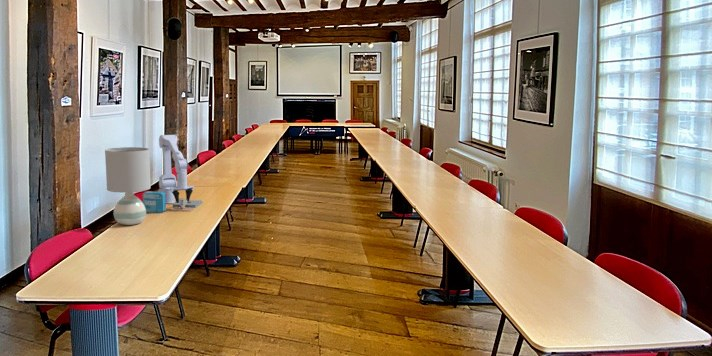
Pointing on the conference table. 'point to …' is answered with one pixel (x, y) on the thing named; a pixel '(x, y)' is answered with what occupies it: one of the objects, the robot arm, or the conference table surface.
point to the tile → (182, 209)
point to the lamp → (128, 181)
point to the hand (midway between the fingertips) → (182, 201)
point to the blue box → (154, 202)
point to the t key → (182, 202)
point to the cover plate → (189, 204)
